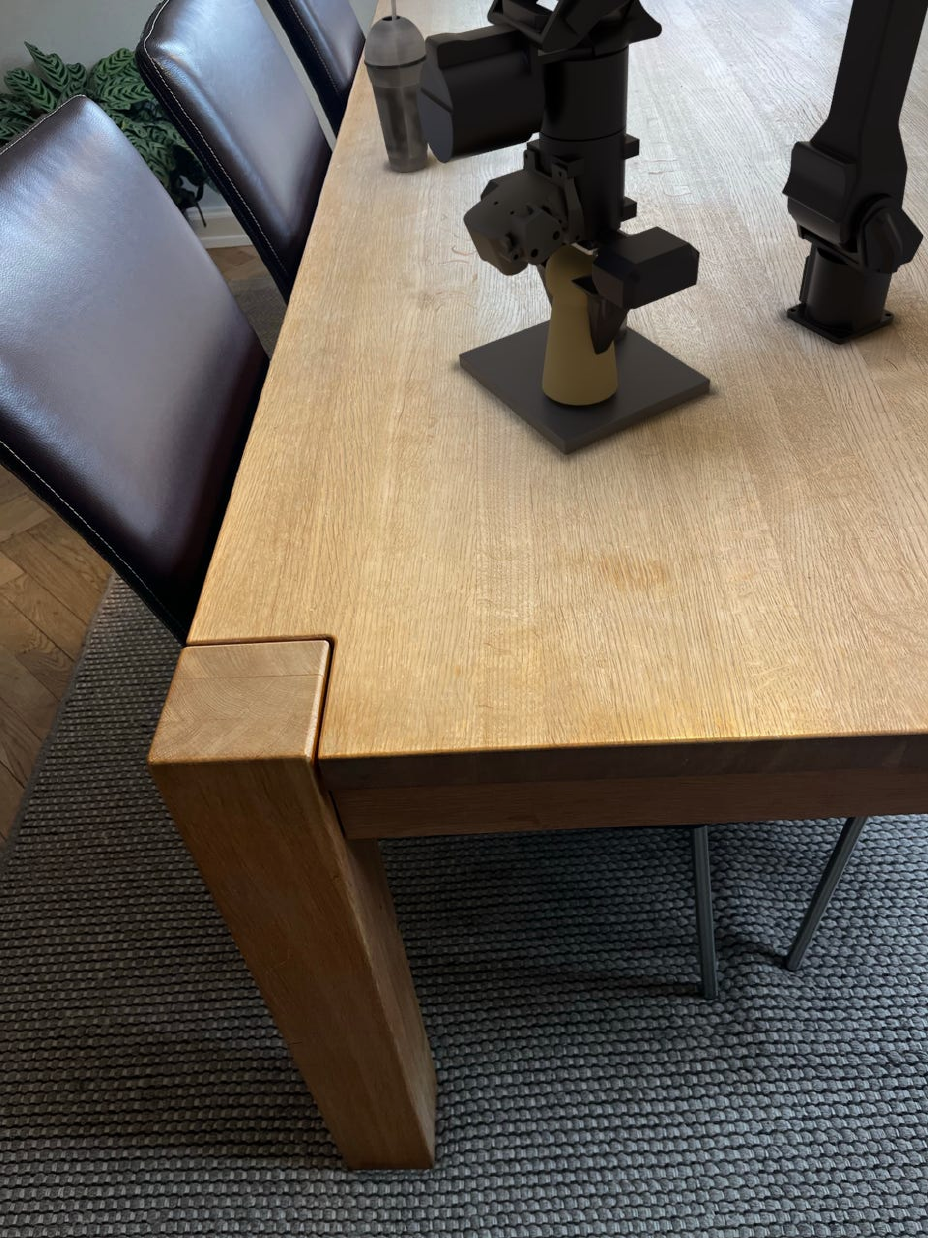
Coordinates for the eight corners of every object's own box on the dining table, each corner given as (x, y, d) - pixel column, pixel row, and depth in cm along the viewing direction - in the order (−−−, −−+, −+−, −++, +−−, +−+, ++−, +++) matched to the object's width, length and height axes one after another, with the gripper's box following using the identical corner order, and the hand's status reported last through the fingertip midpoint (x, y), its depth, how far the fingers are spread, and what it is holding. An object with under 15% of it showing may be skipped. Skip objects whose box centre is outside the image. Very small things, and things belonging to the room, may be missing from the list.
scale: (709, 392, 78) (713, 359, 76) (565, 455, 74) (564, 422, 71) (592, 314, 88) (592, 283, 86) (459, 366, 84) (456, 335, 82)
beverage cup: (367, 172, 116) (337, -24, 101) (398, 149, 120) (373, -42, 106) (420, 179, 113) (397, -21, 98) (450, 155, 117) (432, -40, 103)
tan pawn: (614, 407, 74) (620, 271, 66) (536, 403, 76) (532, 268, 68) (621, 364, 78) (627, 231, 71) (547, 361, 80) (545, 230, 72)
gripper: (407, 119, 67) (432, 326, 78) (561, 206, 55) (565, 434, 66) (542, 78, 70) (547, 282, 81) (715, 152, 58) (694, 378, 69)
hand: (582, 339), depth 74 cm, fingers closed on tan pawn, 4 cm apart
